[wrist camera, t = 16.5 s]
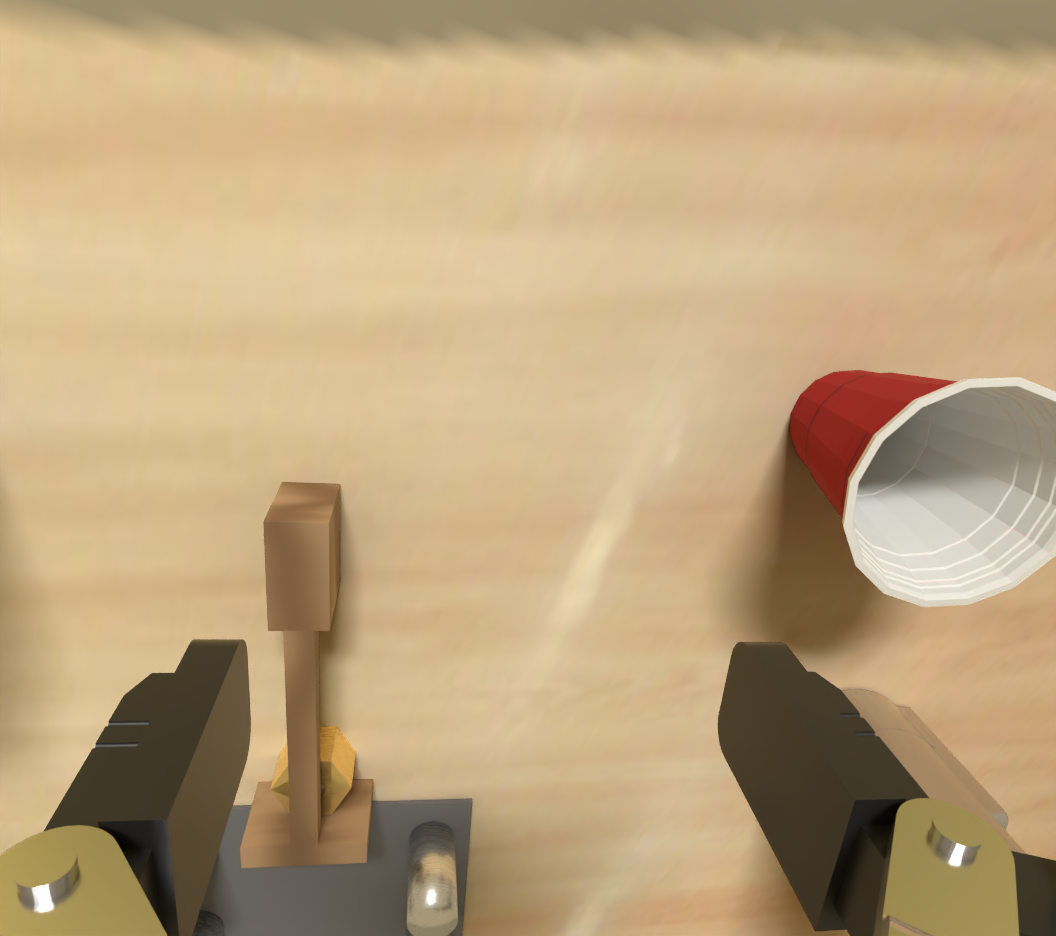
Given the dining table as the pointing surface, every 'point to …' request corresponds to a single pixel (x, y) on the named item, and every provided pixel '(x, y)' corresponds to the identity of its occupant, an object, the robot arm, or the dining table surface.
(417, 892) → the steel spacers
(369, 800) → the wooden mallet
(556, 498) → the dining table surface
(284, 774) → the brass nut
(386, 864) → the spacer mat
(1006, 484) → the plastic cup
